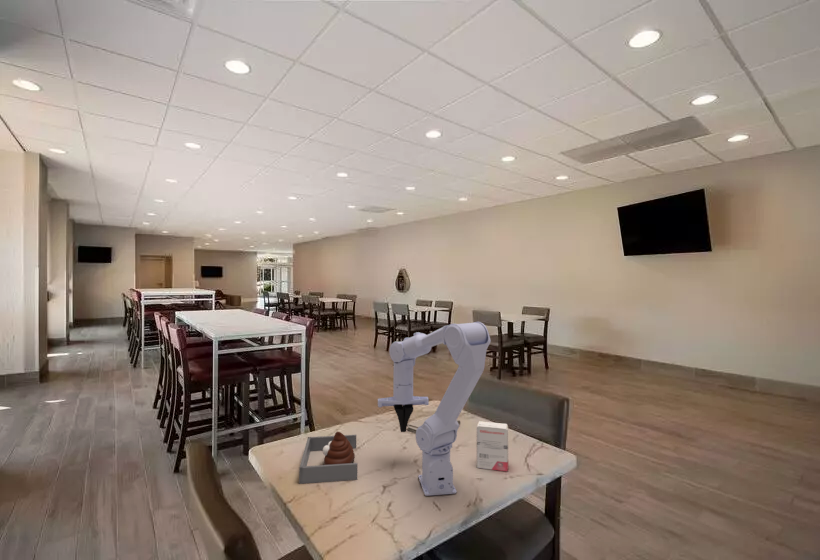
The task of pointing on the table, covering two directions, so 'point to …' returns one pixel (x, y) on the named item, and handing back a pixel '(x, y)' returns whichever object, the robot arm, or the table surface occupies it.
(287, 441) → the table surface
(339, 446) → the poop emoji
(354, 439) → the bin
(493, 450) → the ink box
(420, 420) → the washcloth
